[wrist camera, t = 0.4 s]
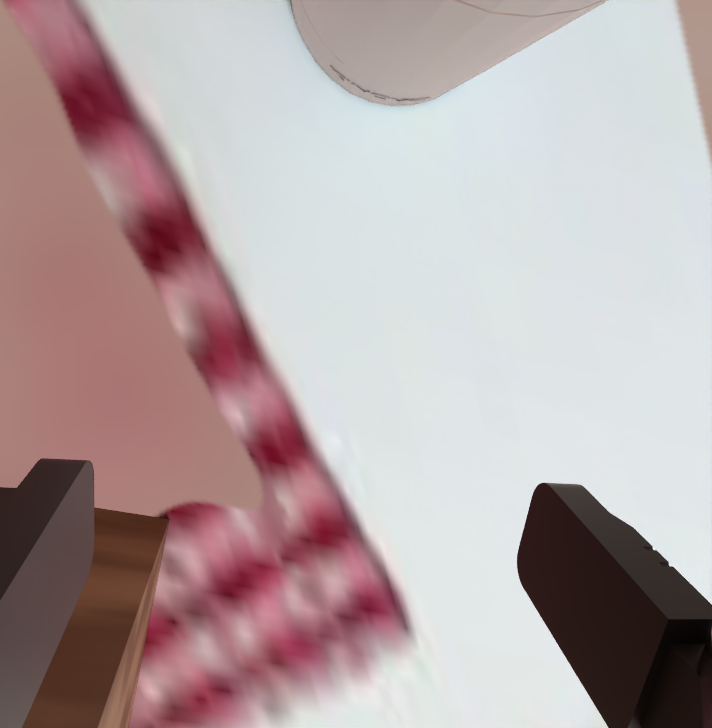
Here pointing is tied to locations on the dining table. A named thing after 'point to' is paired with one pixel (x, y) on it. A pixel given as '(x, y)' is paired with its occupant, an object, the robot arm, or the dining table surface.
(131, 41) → the dining table surface
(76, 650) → the stand
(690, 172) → the dining table surface
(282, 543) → the dining table surface
